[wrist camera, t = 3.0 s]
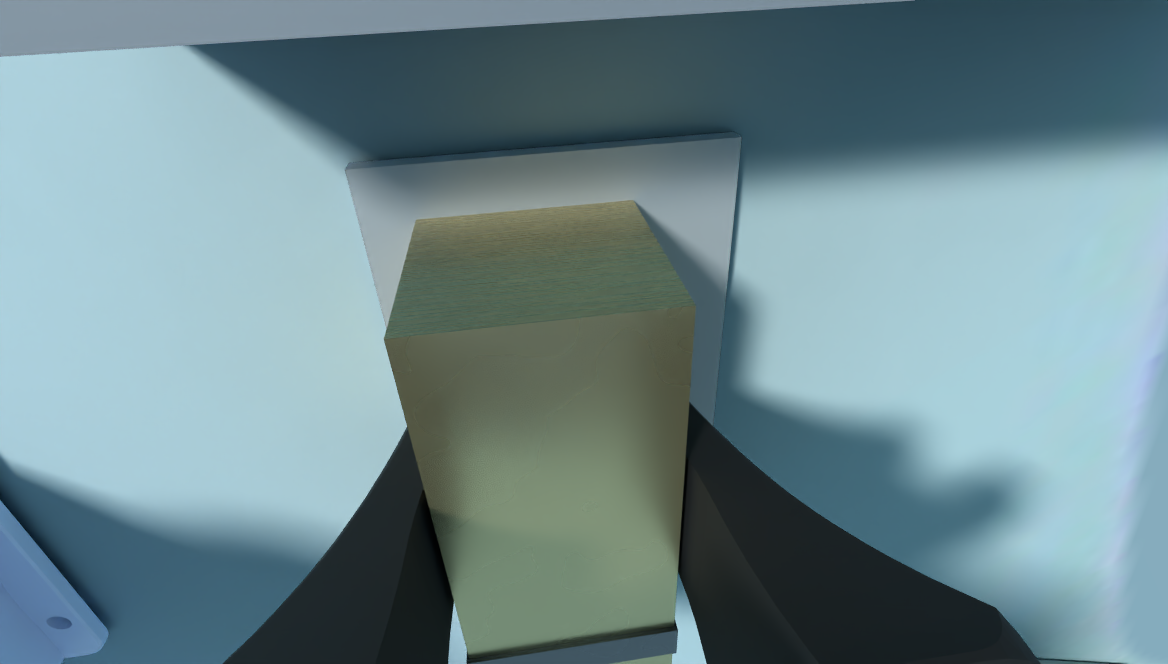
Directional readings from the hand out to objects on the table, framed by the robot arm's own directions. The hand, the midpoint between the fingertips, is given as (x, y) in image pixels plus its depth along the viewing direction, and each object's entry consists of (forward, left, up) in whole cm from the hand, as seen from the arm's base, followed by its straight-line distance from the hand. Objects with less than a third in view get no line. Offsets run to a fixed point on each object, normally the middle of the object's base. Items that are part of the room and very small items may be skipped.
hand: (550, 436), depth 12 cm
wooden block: (0, 0, -1) cm, 1 cm away
